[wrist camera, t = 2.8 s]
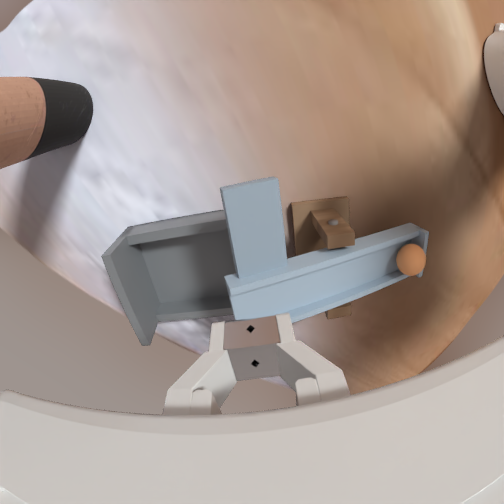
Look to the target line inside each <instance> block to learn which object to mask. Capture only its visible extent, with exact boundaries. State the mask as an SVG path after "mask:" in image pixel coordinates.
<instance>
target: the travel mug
mask: <svg viewBox="0 0 504 504" xmlns="http://www.w3.org/2000/svg"><path fill="white" fill-rule="evenodd" d="M92 115H93V102H92V98H91V96H90V94H89V92H88V91H87V89H86V88H84V87H83V86H81V85H79V84H76V83H71V82H64V81H58V80H50V79H42V78H32V77H0V169H2V168H4V167H7V166H10V165H13V164H16V163H19V162H21V161H24V160H26V159H29V158H32V157H34V156H37V155H40V154H43V153H45V152H48V151H51V150H54V149H57V148H60V147H63V146H66V145H69V144H72V143H74V142H76V141H77V140H79V139H80V138H81V137H82V136H83V135H84V133H85V132H86V131H87V129H88V127H89V125H90V122H91V119H92Z"/></svg>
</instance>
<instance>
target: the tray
mask: <svg viewBox="0 0 504 504" xmlns="http://www.w3.org/2000/svg"><path fill="white" fill-rule="evenodd" d="M101 257H102V259H103V262H104V264H105V267H106V269H107V272H108V274H109V277H110V279H111V282H112V284H113V286H114V289H115V291H116V293H117V295H118V298H119V300H120V302H121V304H122V306H123V309H124V311H125V313H126V315H127V317H128V319H129V321H130V323H131V325H132V327H133V329H134V331H135V333H136V335H137V337H138V339H139V341H140V343H141V345H143V346H145V345H150V344H151V341H152V338H153V335H154V332H155V330H156V327H157V324H158V322H161V321H174V320H185V319H196V318H207V317H216V316H225V315H233V311H232V307H231V303H230V299H229V294H228V290H227V286H226V282H225V277H224V276H227V275H231V274H234V273H236V269H235V264H234V259H233V254H232V249H231V244H230V239H229V233H228V228H227V223H226V218H225V213H224V210H219V211H212V212H206V213H200V214H195V215H189V216H183V217H177V218H172V219H166V220H161V221H156V222H151V223H145V224H140V225H135V226H130V227H128V228H127V229H126V230H125V231H124V232H123V233H122V234H121V235H120V236H119V237H118V238H117V239H116V241H115V242H114V243H113V244H112V245H111V246H110V247H109V248H108V249H107V250H106V252H105V253H104V254H103V255H102V256H101Z"/></svg>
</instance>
